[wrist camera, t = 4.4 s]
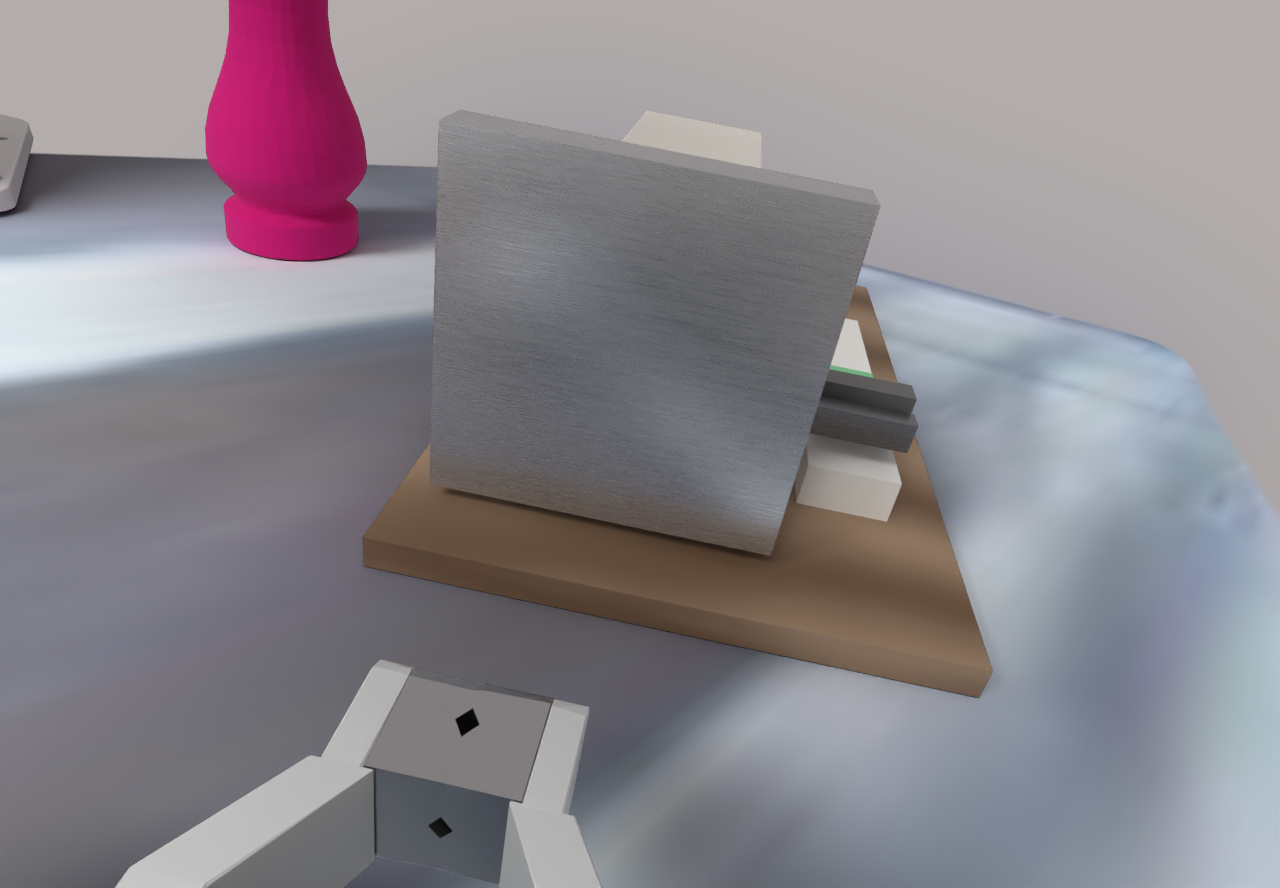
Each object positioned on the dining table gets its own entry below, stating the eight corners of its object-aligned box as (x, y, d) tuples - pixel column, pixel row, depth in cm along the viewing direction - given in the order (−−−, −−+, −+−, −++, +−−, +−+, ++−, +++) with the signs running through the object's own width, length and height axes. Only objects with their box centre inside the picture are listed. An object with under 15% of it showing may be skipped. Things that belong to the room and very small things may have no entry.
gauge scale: (886, 521, 26) (902, 483, 25) (796, 503, 26) (808, 464, 25) (848, 349, 38) (857, 320, 37) (785, 337, 38) (793, 307, 37)
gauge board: (978, 697, 21) (992, 671, 21) (363, 565, 22) (362, 537, 22) (861, 303, 47) (866, 287, 47) (578, 247, 48) (580, 231, 47)
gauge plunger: (910, 585, 23) (1061, 241, 18) (429, 483, 23) (438, 119, 18) (847, 324, 40) (915, 110, 34) (570, 268, 40) (596, 48, 35)
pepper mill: (313, 276, 38) (283, -275, 28) (182, 241, 39) (106, -302, 29) (394, 238, 44) (394, -225, 34) (278, 208, 45) (244, -249, 35)
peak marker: (898, 446, 27) (916, 399, 26) (809, 428, 27) (823, 380, 26) (894, 432, 27) (911, 385, 27) (807, 414, 28) (822, 367, 27)
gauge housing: (720, 359, 35) (760, 185, 31) (585, 331, 35) (609, 155, 31) (729, 271, 45) (761, 132, 41) (625, 250, 45) (646, 110, 41)
